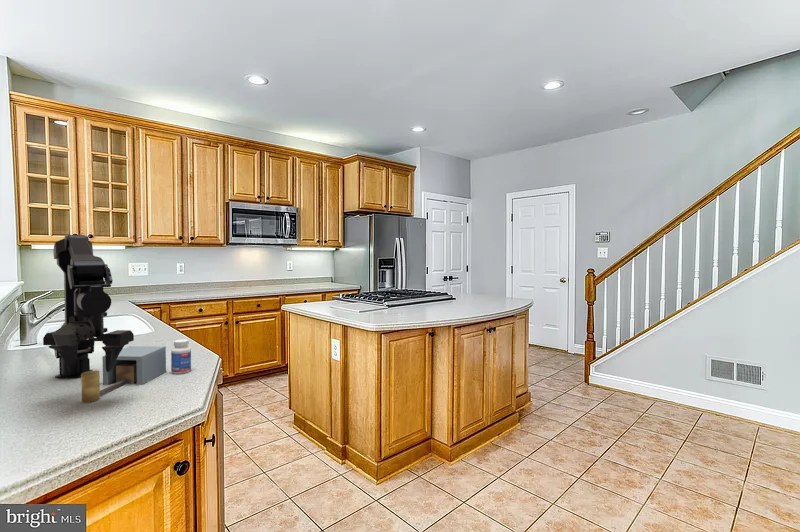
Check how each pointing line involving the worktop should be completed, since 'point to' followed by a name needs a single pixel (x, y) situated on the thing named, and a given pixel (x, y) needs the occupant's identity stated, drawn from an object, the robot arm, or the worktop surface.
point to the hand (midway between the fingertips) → (90, 371)
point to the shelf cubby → (139, 363)
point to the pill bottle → (181, 357)
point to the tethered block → (92, 386)
